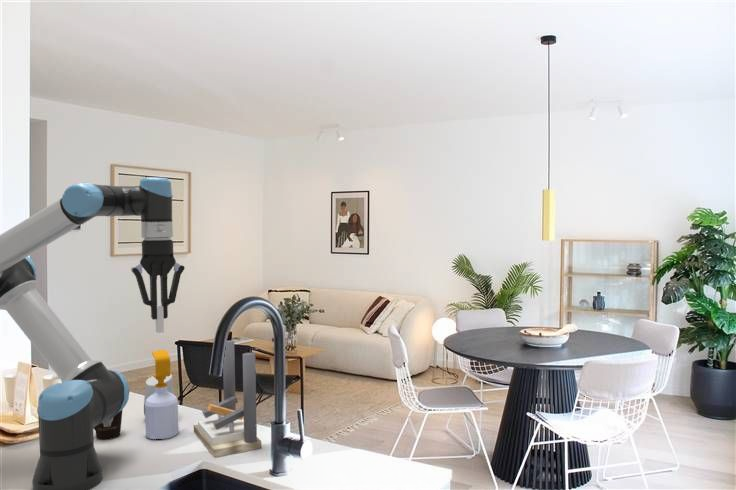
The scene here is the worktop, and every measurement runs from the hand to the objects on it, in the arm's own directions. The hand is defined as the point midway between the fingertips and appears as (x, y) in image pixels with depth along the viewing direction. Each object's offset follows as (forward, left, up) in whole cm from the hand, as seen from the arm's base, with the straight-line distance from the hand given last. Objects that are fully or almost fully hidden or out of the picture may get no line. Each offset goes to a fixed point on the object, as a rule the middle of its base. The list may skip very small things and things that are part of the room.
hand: (159, 331), depth 156 cm
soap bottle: (+4, +22, -35) cm, 41 cm away
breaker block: (+19, +9, -32) cm, 39 cm away
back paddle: (+19, +14, -26) cm, 35 cm away
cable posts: (+23, +8, -32) cm, 41 cm away
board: (+19, +8, -34) cm, 40 cm away
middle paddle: (+19, +8, -26) cm, 34 cm away
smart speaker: (+6, +36, -35) cm, 50 cm away
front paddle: (+19, +3, -26) cm, 33 cm away
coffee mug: (-11, +30, -35) cm, 47 cm away
